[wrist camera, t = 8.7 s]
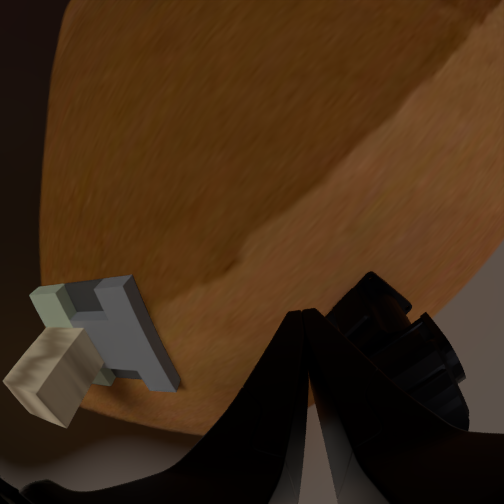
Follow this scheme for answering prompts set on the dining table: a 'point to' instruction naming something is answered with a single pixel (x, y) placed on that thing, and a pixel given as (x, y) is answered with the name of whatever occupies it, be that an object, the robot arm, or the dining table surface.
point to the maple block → (55, 374)
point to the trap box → (111, 328)
